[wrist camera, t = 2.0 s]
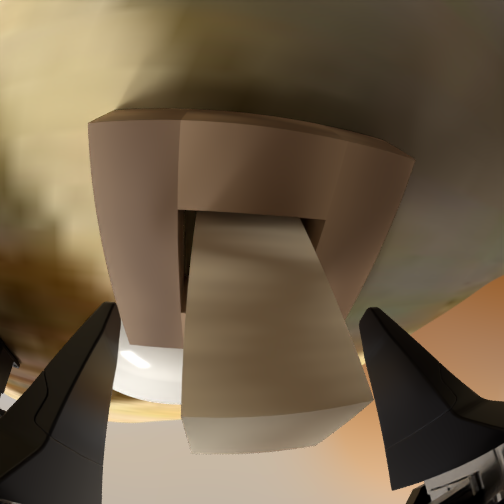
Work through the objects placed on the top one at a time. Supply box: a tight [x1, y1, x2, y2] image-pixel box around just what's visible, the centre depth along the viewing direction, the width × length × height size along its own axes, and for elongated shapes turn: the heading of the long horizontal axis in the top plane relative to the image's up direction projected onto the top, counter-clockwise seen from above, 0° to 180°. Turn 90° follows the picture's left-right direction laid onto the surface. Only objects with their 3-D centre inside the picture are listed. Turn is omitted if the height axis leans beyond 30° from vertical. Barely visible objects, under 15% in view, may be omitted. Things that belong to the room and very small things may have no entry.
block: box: [181, 210, 374, 454], centre depth 9 cm, size 4×4×9 cm
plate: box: [113, 313, 183, 404], centre depth 19 cm, size 13×13×1 cm
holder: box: [88, 108, 416, 349], centre depth 12 cm, size 11×11×2 cm
